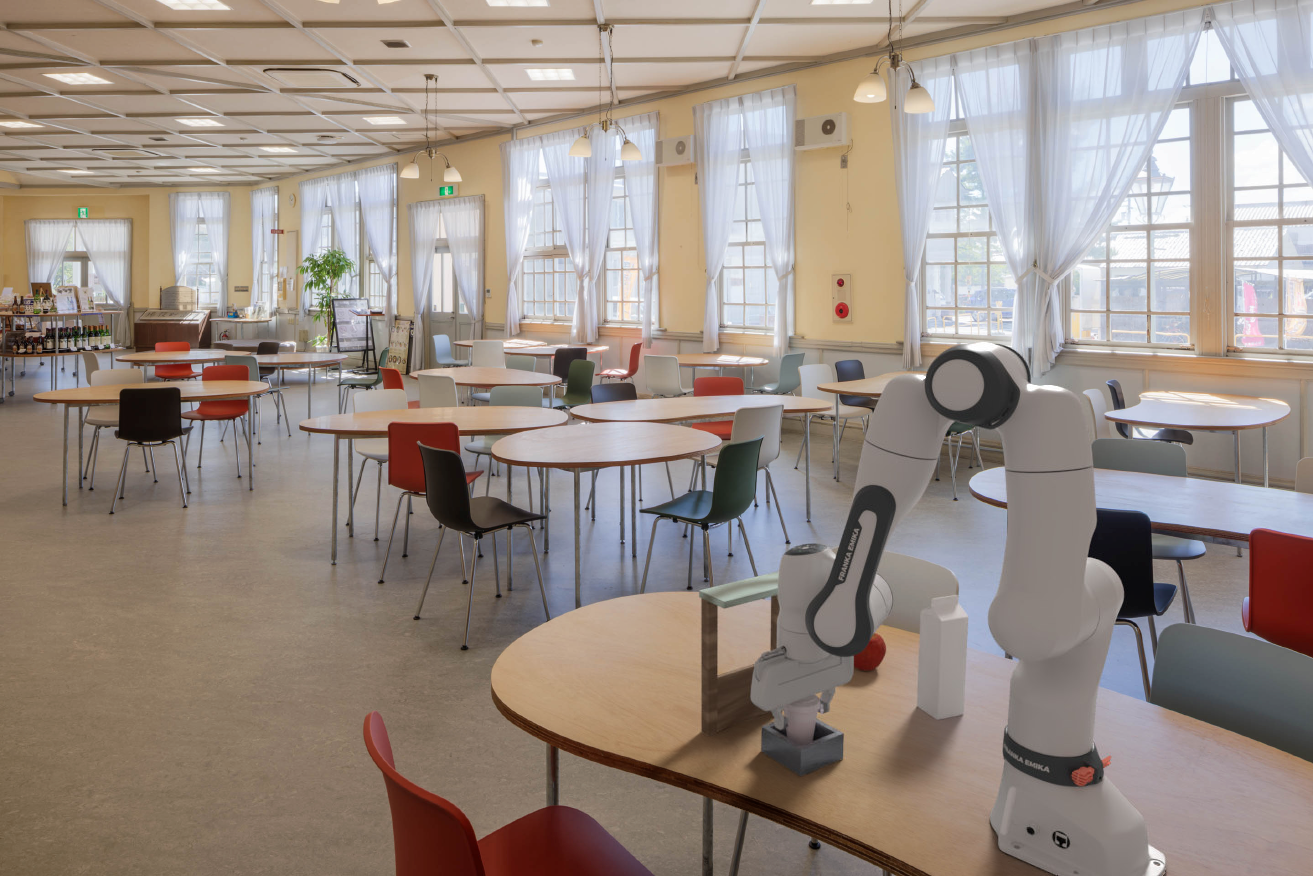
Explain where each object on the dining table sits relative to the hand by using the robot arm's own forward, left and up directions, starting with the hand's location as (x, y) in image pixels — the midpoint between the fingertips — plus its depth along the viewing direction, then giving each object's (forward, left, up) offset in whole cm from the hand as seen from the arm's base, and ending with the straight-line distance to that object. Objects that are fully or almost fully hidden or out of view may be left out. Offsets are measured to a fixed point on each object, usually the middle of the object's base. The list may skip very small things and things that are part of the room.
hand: (802, 719), depth 145 cm
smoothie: (+1, 0, -6) cm, 7 cm away
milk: (-3, -32, -6) cm, 33 cm away
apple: (+18, -35, -7) cm, 40 cm away
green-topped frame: (+12, 0, -6) cm, 13 cm away
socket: (0, 0, -6) cm, 6 cm away
